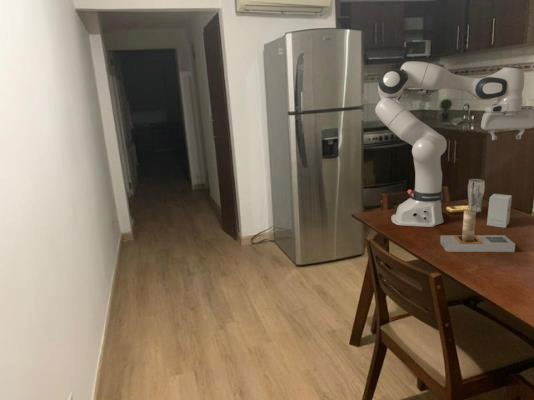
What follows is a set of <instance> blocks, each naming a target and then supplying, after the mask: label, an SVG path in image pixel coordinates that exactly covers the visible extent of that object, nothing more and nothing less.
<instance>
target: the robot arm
mask: <svg viewBox="0 0 534 400" xmlns="http://www.w3.org/2000/svg"><path fill="white" fill-rule="evenodd" d="M410 87H412V88H417V89H422V90H427V91H428V90H430V91H438V90H439V91H440V90H445V89H449V90H456V91H461V92H466V93H469V94H471V95H472V96H473V97H475V98H476V99H479V100H483V101H489V100H492V99H496V98H497V103H493V104H490V105H487V106H485V107H484V113H483V115H482V118H481V123H480V128H481V130H484V131H489V134H490V136H491V140H492V141H497V139H498V135H495V133H496V130H513V129H514V130H515V129H516V130H517V129H518V131H519V132H518V133H517V134H515V140H521V139H522V135H523V134H524V132H525V130H526V129H533V128H534V106H533V105H523V98H524V97H523V92H524V91H523V90H524V88H525V71H524V69H523V68H521V67H518V66H504V67H503V68H501V69H500V70H498V71H496V72H494V73H492V74H490V75H486V76H480V77H469V76H464V75H458V74H455V73H453V72H451V71H449V70H448V69H446V68H445V67H442V66H440V65H438V64H435V63H431V62H425V61H412V60H411V61H405V62H404V63H403V64H401V67H397V68H391V69H387V70H386V71H384V72H383V73H382V74H381V75H380V77H379V79H378V85H377V90H378V91H377V92H378V98H379V101H378V103H377V104H376V106H375V108H374V112H375V115H376V116H377V117H378V118H379V120H380V121H381V122H382V123H383V125H384V126H386V127H387V128H388V129H389V130H390V131H391V132H393V134H394V135H396V136H397V138H399V139H400V140H401V141H403V142H405V143H407V144H409V145H410V146H412V149H411V154H412V157H413V164H414V165H413V166H414V174H415V177H414V178H415V180H414V189H413V190H412V189H408V190H407V193H408V195H409V198H407V200H405V201H403V202H402V203H400V204H399V205H398V206H397V209H396V212H395V213H394V214H392V215H391V218H390V219H391V222H392V224H394V225H396V226H397V225H398V226H408V227H426V228H427V227H429V228H433V227H435V226H437V225H440V224H443V223H444V217H443V214H442V213H443V212H442V210H443V209H442V203H443V190H442V188H443V187H442V186H443V185H442V184H443V171H442V165H441V163H442V162H441V157H442V155H443V154H444V153H445V152H446V150H447V147H448V146H447V145H448V144H447V139H446V138H445V136H443V135H442V134H441V133H439V132H437V131H436V130H435V129H433V128H432V127H430V126H429V125H427V124H426V123H425V122H423V121H421V120H420V119H419V118H417V117H416V116H415V115H414V114H413V113H412V112H411V111H410V110H409V109H408V108H406V107H405V106H403V105H402V103H400V100H401V98H402V94H403V92H404V89H406V88H410Z"/></svg>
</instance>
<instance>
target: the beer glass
mask: <svg viewBox="0 0 534 400" xmlns="http://www.w3.org/2000/svg"><path fill="white" fill-rule="evenodd" d="M485 187H486V186H485V180H484V179H481V178H471V179H468V184H467V198H468V206H467V209H468V208H469V209H471V210H473V211H476V214H477V213H481V212H482V201H483V198H484V194H485Z"/></svg>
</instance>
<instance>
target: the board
mask: <svg viewBox="0 0 534 400" xmlns="http://www.w3.org/2000/svg"><path fill="white" fill-rule="evenodd" d="M439 243H440V244H441V246H442V248H443V249H444V250H445V252H448V253H449V252H450V253H453V252H455V253H459V252H460V253H463V252H464V253H465V252H466V253H469V252H470V253H471V252H472V253H474V252H475V253H476V252H477V253H515V250H516V243H514V242H513V241H512V240H511V239H510V238H508V237H507V236H506V235H501V234H499V235H497V234H495V235H494V234H493V235H492V234H491V235H489V234H488V235H479V234H477V235H475V234H474V242H462V235H460V234H457V235H456V234H455V235H453V234H452V235H447V234H446V235H444V234H443V235H440V241H439Z"/></svg>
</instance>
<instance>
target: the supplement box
mask: <svg viewBox="0 0 534 400" xmlns="http://www.w3.org/2000/svg"><path fill="white" fill-rule="evenodd" d="M512 199H513V196H512V195H510V194H501V193H493V194H491V196H489V201H488V209H487V220H486V221H487V222H486V226H490V227H491V226H492V227H497V228H505V229H506V228H507V226H508V225H509V224H510V215H511V208H512Z"/></svg>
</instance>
